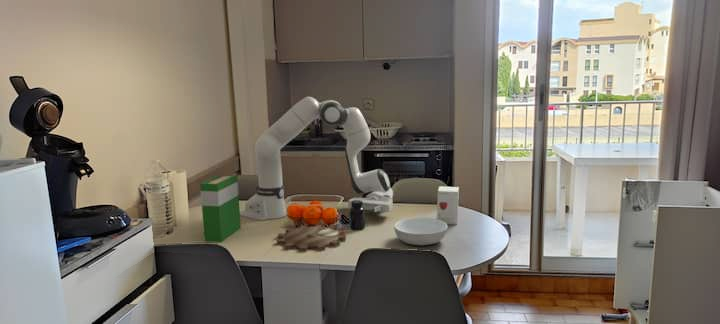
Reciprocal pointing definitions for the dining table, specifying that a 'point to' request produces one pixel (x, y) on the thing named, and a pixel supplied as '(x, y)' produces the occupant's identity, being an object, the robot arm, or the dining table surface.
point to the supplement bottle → (357, 215)
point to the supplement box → (448, 204)
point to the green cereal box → (220, 207)
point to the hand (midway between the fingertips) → (363, 209)
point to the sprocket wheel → (311, 238)
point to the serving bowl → (420, 230)
